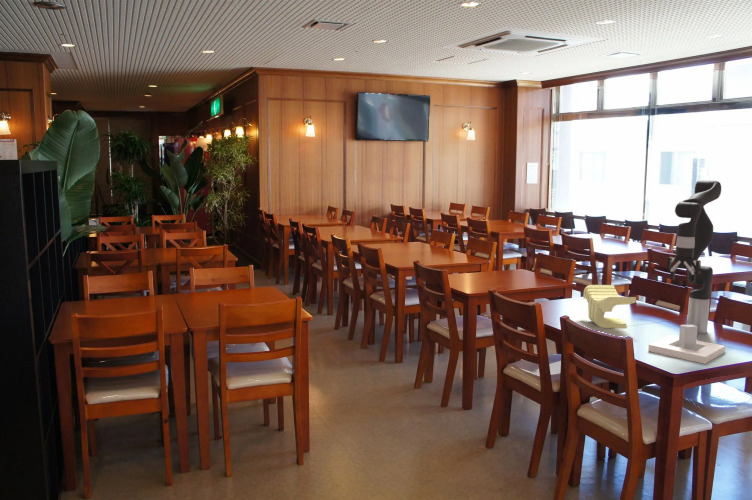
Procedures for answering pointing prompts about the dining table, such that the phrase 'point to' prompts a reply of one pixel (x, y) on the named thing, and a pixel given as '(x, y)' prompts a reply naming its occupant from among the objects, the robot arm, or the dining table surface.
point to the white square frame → (701, 355)
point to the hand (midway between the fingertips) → (682, 281)
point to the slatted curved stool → (605, 304)
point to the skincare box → (688, 337)
